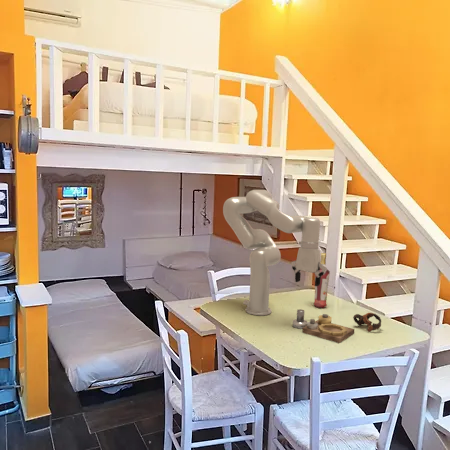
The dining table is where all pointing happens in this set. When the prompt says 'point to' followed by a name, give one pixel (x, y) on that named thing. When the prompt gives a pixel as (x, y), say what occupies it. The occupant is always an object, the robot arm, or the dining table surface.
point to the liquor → (322, 286)
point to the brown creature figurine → (367, 321)
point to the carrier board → (327, 329)
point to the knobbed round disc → (299, 320)
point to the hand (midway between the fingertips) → (307, 283)
